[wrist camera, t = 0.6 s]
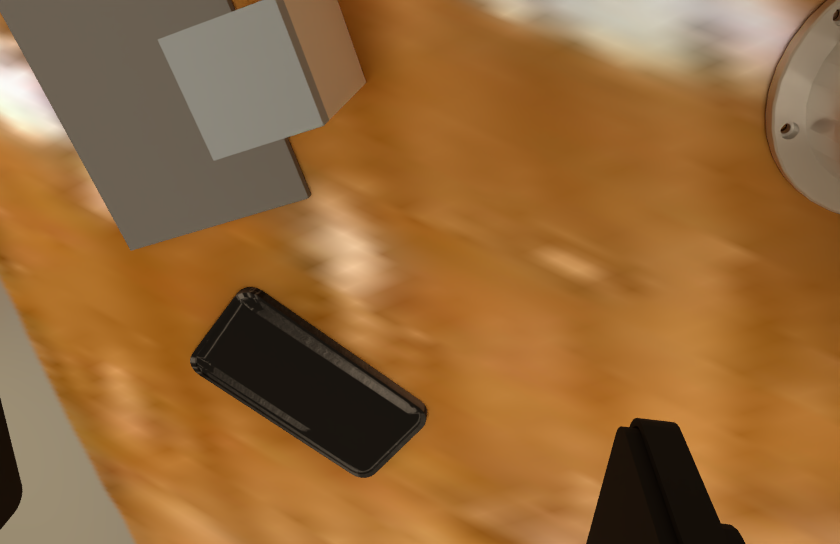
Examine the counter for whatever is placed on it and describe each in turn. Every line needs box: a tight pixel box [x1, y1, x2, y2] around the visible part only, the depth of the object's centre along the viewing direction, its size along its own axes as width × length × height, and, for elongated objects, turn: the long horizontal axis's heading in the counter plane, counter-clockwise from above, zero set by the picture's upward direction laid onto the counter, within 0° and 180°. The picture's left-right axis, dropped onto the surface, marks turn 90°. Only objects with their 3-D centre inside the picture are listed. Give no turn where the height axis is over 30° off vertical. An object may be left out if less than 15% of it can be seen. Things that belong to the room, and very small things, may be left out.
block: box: [158, 0, 366, 161], centre depth 30 cm, size 5×5×10 cm
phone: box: [190, 287, 427, 478], centre depth 44 cm, size 8×1×15 cm
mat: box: [0, 0, 311, 250], centre depth 36 cm, size 12×15×1 cm
